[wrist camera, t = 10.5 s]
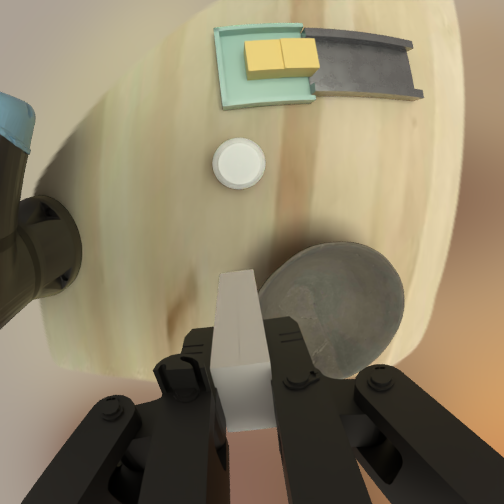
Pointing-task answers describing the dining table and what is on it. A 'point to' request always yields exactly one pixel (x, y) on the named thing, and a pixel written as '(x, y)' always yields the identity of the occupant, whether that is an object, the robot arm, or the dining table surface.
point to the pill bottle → (239, 163)
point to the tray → (234, 72)
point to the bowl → (338, 304)
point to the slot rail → (361, 65)
